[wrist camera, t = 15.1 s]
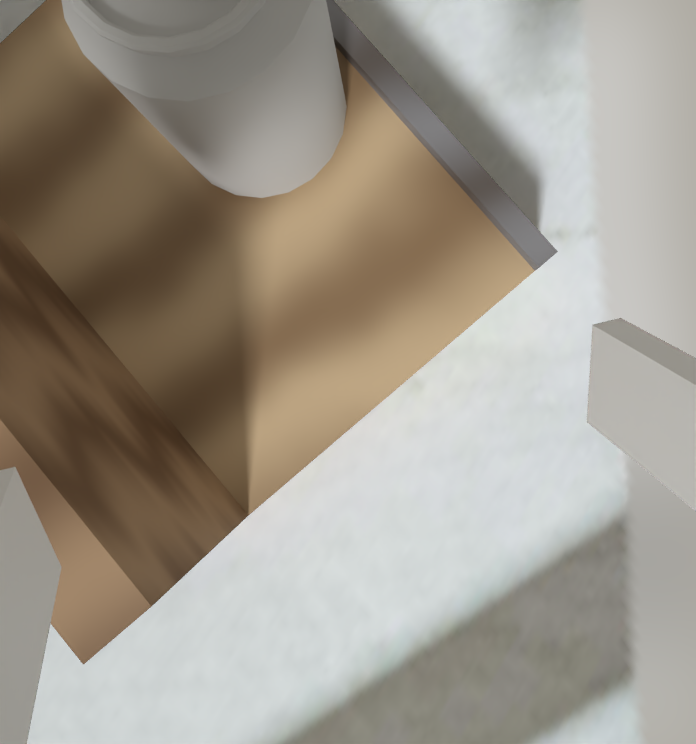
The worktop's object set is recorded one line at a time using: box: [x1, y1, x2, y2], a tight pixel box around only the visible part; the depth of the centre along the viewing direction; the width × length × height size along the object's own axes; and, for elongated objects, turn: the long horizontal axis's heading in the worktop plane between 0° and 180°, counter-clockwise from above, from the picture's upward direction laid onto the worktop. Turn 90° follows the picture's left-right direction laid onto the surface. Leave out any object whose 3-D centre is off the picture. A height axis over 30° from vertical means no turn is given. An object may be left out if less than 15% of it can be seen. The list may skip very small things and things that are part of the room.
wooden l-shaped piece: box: [0, 0, 557, 664], centre depth 24 cm, size 24×20×14 cm
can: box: [61, 0, 347, 198], centre depth 22 cm, size 8×8×12 cm
